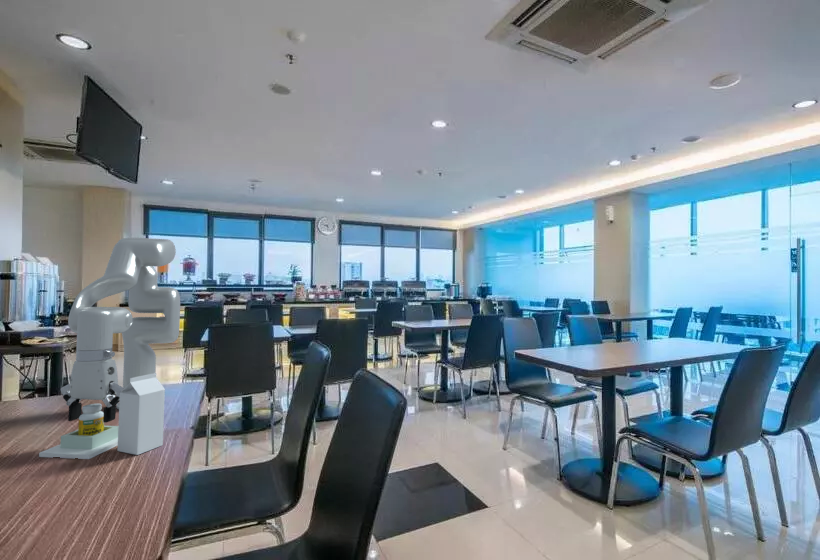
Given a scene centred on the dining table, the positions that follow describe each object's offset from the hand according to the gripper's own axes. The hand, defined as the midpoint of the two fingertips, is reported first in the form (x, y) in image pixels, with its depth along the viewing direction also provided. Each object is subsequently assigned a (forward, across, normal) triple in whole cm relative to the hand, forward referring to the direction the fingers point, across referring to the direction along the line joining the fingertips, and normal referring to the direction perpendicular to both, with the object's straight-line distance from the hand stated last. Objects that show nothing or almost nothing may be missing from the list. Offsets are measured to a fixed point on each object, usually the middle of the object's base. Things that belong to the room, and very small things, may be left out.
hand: (92, 420), depth 105 cm
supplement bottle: (+6, 0, 0) cm, 6 cm away
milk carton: (+7, -14, 0) cm, 16 cm away
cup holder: (+7, 0, 0) cm, 7 cm away
